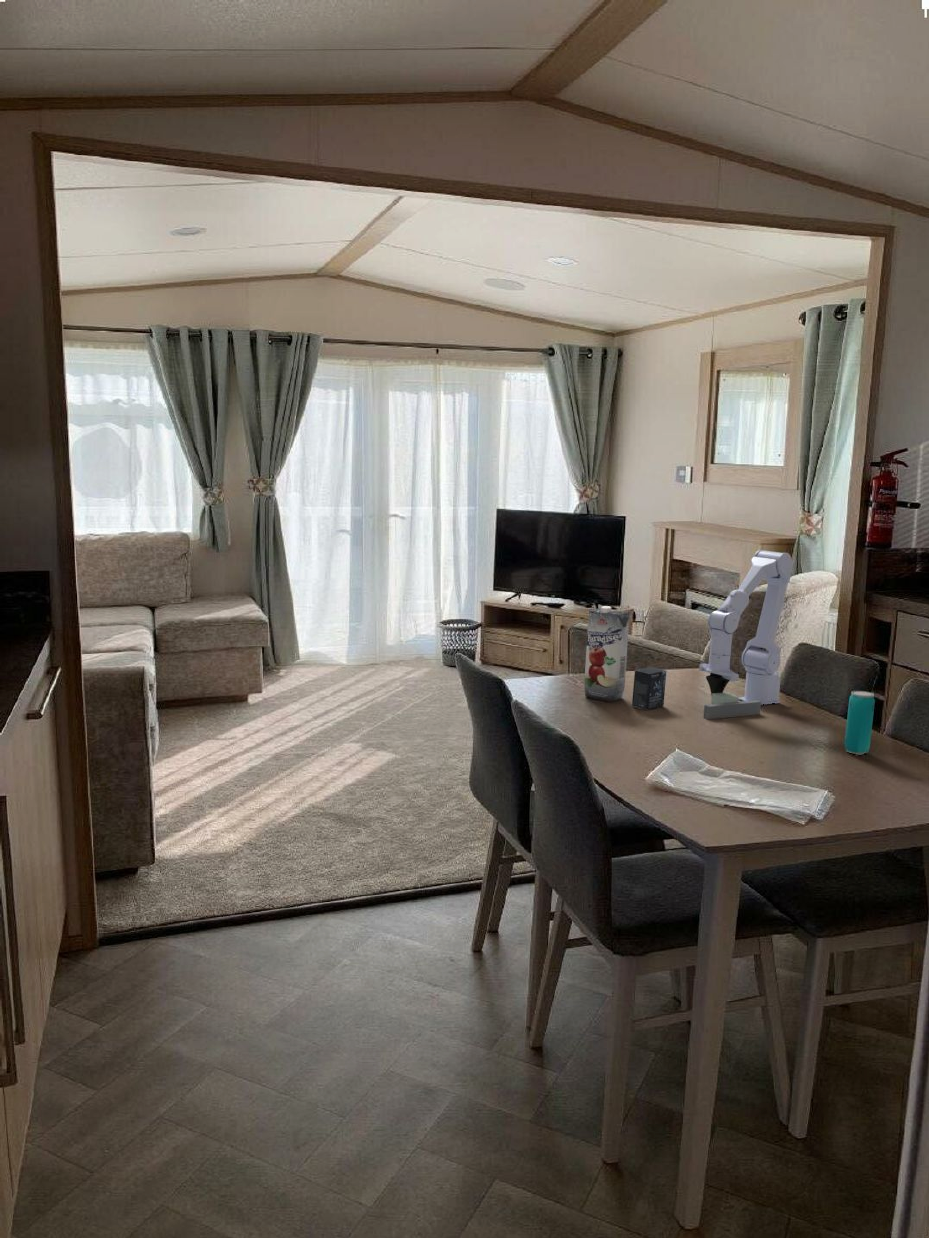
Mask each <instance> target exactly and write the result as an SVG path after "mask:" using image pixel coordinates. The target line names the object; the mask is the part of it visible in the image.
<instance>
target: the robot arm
mask: <svg viewBox="0 0 929 1238" xmlns="http://www.w3.org/2000/svg"><path fill="white" fill-rule="evenodd" d="M794 564H795V562H794V561H793V558H792V556H791V554H790V553H789V552H778V551H769V550H764V549H759V550H757V551H756V552H755V554H753V557H752V558H751V560H750V566H751V567H750V569H749V571H748V573H747V574H746V576H745V577H744V579H743V581H742V582H741V584H740V586H739V587H738V588H737V589H734V590H732V591H731V592H730V593H729V595H728V596H727V597H726V599H725V600H724V602H723V603H722V604H721V606H720V607H719V608H718V609H717V610H715V611H712V612H711V613H710V614H709V617H708V619H707V622H706V624H707V627H708V629H709V636H710V644H709V658H708V663H699V666H698V667H699V668H698V671H700V672H706V673H709V675H706V676H705V679H706V681H707V683H708V686H709V689H710V695H711V696H712V693H724V690H725V688H726V687H727V685H728V684H729V682H732V683H733V682H734V683H735V682H739V677H740V676H739V674H738V673H736V672H734V671H732V670H731V669H730V666H731V654H732V645H733V644H732V642H733V633H734V632H735V631H736V630H737V629H738V627H739V622H740V619H741V615H742V613H743V612H744V610H745V609H746V608H747V606H748V605H749V604H750V598H749V597H750V595H752V593H753V592H754V591H755V590H756V588H757V587H758V586H759V585H760V584H761V582H762V581H763V580H765V582H766V583H767V587H766V592H765V596H764V600H763V605H762V609H761V613H760V617H759V621H758V624H757V625H758V626H757V630H756V634H755V637H753V638H751V639H750V640H748V641H747V643H746V646H745V648H744V650H743V652H742V653H741V664H742V666H743V667H744V671H746V673H745V674H746V677H745V686H744V696H738V700H740V701H752V700H757V701H760V702H761V706H763V704H764V705H773V704H772V703H775V704H780V703H781V700H779V698H780V690H781V687H780V686H781V678H780V676H779V674H778V673H777V671H778V669H779V667H780V665H781V651H782V649H781V647H779V645H778V644H777V643H776V641H775V640H776V635H777V631H778V626H779V623H780V620H781V619H780V617H781V613H782V610H783V605H784V603H785V602H784V601H785V598H786V593H787V589H788V584H789V583H790V581H791V576H792V571H793V568H794ZM761 648H762V649H761Z"/></svg>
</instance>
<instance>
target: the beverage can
mask: <svg viewBox="0 0 929 1238" xmlns="http://www.w3.org/2000/svg"><path fill="white" fill-rule="evenodd" d="M875 702H876V700H875V694H874V693H873V692H869V691H865V690H853V691H851V694H850V696H849V700H848V706H847V707H848V710H847V718H846V727H845V737H844V747H845V751H846V752H849V753H856V754H864V753H867V754H868V752H869V750H870V748H871V739H872V731H873V730H872V728H873V722H874V710H875ZM849 753H848V754H849Z"/></svg>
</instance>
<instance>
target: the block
mask: <svg viewBox="0 0 929 1238" xmlns="http://www.w3.org/2000/svg"><path fill="white" fill-rule="evenodd" d="M738 697H739V696H737V695H735V694H732V693H730V692H727V691H726V692H724V691H723V693H712V695H711V703H710V704H719V703H730V702H739V699H738Z"/></svg>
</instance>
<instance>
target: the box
mask: <svg viewBox="0 0 929 1238" xmlns="http://www.w3.org/2000/svg"><path fill="white" fill-rule="evenodd" d="M666 679H667V670H665V669H662V668H657V667H652V666H649V667H645V668H640V669H634V677H633V687H632V688H633V689H632V701H631V706H632V707H634V708H637V709H641V710H646V711H649V710H652V709H656V708H660V707H661V708H662V707H664V703H665V692H666V691H665V690H666Z"/></svg>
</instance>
